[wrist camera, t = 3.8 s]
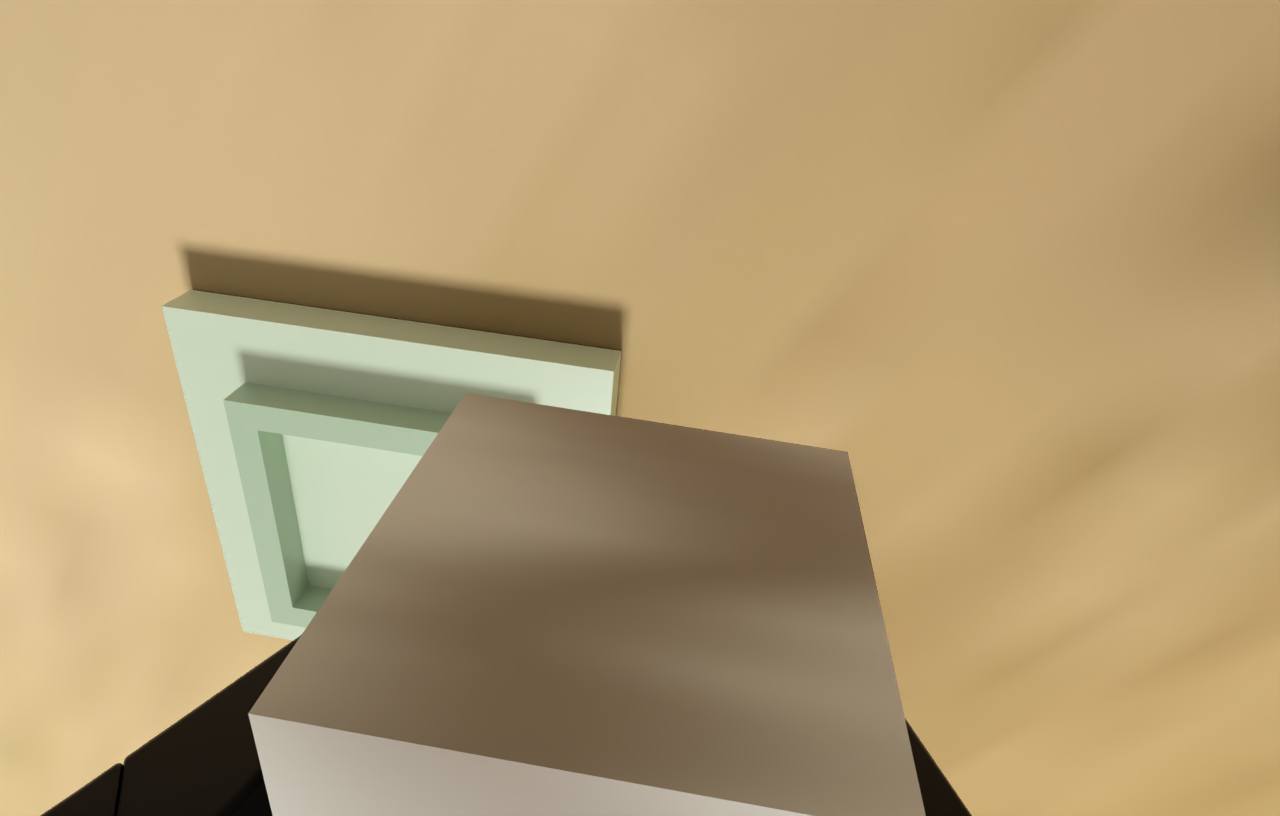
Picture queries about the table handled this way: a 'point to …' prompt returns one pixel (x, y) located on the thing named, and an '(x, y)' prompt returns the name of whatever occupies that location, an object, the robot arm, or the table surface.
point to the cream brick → (597, 635)
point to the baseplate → (336, 427)
